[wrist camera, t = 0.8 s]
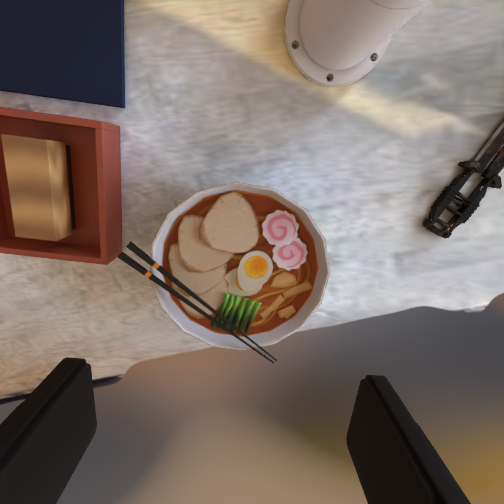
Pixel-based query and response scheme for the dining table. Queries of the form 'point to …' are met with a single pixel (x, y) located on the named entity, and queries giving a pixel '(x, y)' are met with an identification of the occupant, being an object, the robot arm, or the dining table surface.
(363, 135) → the dining table surface
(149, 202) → the dining table surface
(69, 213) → the tall wooden block
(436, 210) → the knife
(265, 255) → the ramen bowl
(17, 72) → the mat
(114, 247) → the red open tray
